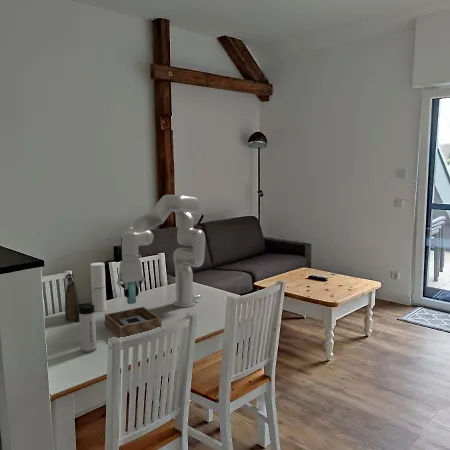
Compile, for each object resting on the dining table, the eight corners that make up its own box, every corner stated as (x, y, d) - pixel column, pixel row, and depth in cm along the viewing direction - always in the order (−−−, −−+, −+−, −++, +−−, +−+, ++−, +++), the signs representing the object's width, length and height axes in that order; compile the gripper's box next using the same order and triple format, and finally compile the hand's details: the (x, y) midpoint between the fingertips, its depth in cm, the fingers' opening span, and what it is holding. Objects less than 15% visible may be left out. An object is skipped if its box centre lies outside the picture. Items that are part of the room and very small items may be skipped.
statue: (62, 322, 216) (60, 272, 214) (67, 317, 224) (66, 269, 221) (79, 322, 216) (78, 272, 214) (84, 317, 224) (83, 269, 222)
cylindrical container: (102, 312, 232) (100, 265, 228) (90, 311, 233) (87, 265, 229) (108, 307, 238) (106, 262, 235) (96, 306, 240) (94, 262, 236)
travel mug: (82, 347, 188) (79, 302, 185) (97, 346, 188) (95, 301, 185) (78, 353, 181) (76, 306, 179) (94, 352, 182) (92, 306, 179)
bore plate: (138, 320, 216) (138, 315, 215) (147, 327, 207) (147, 321, 207) (118, 325, 210) (118, 319, 209) (126, 332, 201) (126, 326, 201)
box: (143, 318, 222) (143, 306, 221) (161, 330, 206) (161, 318, 205) (105, 326, 211) (104, 314, 210) (120, 340, 195) (120, 327, 194)
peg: (133, 300, 209) (133, 280, 208) (137, 303, 206) (136, 282, 205) (125, 302, 207) (125, 281, 206) (129, 304, 204) (128, 283, 202)
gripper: (143, 254, 211) (144, 291, 214) (110, 258, 202) (111, 297, 204) (150, 257, 205) (151, 295, 208) (116, 261, 196) (117, 301, 198)
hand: (131, 295), depth 206 cm, fingers closed on peg, 4 cm apart
